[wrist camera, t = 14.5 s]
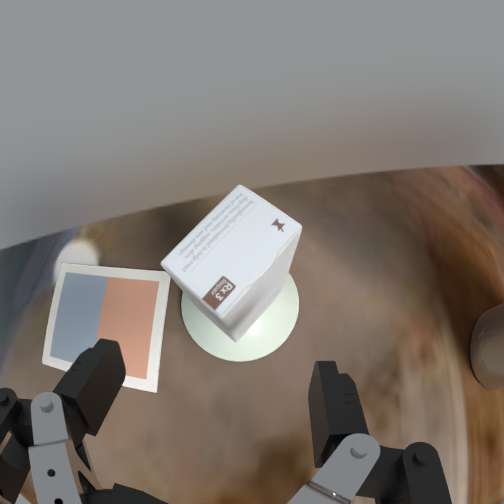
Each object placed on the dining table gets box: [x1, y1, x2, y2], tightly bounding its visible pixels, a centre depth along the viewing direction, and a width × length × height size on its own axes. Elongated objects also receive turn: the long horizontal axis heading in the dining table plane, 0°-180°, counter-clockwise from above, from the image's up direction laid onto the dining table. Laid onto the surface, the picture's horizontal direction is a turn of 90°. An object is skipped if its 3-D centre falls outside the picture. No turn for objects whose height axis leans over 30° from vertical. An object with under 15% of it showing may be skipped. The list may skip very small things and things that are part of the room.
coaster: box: [181, 272, 299, 362], centre depth 25 cm, size 10×10×1 cm
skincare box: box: [161, 184, 302, 342], centre depth 19 cm, size 6×4×12 cm
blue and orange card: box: [42, 263, 171, 393], centre depth 25 cm, size 13×11×1 cm
